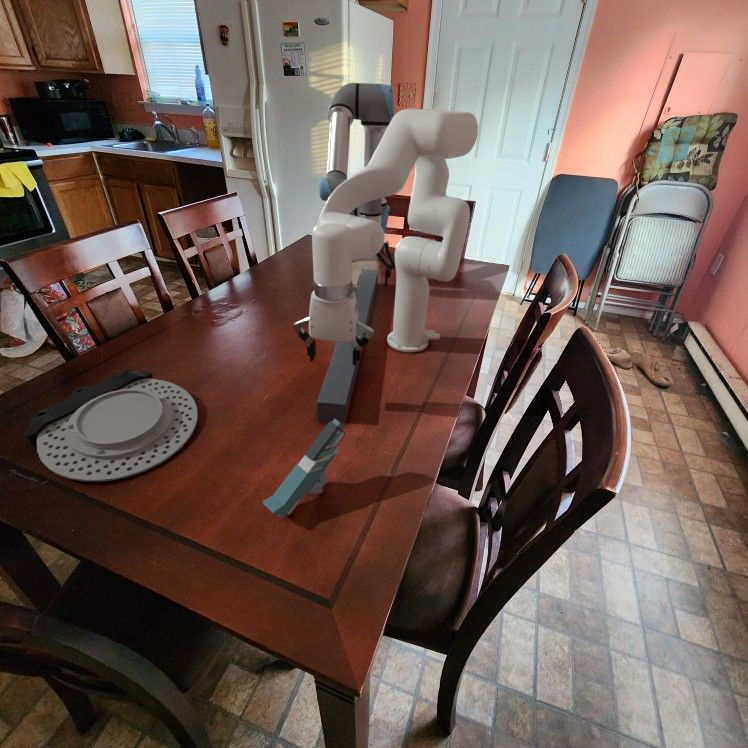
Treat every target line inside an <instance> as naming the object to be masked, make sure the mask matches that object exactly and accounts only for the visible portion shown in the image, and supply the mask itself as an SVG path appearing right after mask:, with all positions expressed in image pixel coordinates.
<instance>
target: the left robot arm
mask: <svg viewBox="0 0 748 748" xmlns="http://www.w3.org/2000/svg"><path fill="white" fill-rule="evenodd" d="M394 115H395V99H394V89H393V87H392V86H391V85H390V84H387V83H386V84H384V83H370V82H369V83H368V82H367V83H366V82H365V83H364V82H349V83H347V84H344V85H343V86H341V87H340V88H339V89H338V90H337V91H336V92H335V94H334V95H333V97H332V99H331V101H330V102H329V106H328V109H327V120H328V122H329V134H328V145H327V146H328V147H327V161H326V174H325V175H326V176H325V177H321V178H320V179H319V183H318V189H319V192H318V193H319V198H320V200H322V201H325V202H327V200H328V198H329V197H330V195H331V194H332V192H333V191H334V190H335V189H336V188H337V187H338V186H339V185H340V184H341V183H343V182H344V181H345V180H347V179H348V172H349V171H348V170H349V156H350V155H349V154H350V139H351V137H350V136H351V135H350V134H351V126H352V124H353V123H354V120H357V121H360V127H361V128H362V130H363V131H364V132H363V135H364V137H363V168H365V167H366V166H367V165H368V164H369V162H370V160H371V158H372V156H373V154H374V152H375V151H376V149H377V147H378V145H379V143H380V141H381V139H382V137H383V135H384V133H385V131H386V129H387V127H388V125H389V124H390V122H391V120H392V118H393V117H394ZM349 215H353V216H357V217H361V218H366V219H370V220H373V221H375V222H377V223H379V224H380V225H381V227H382V228H383V231H384V233H385V232H386V230H387V228H388V227H387V226H388V221H389V215H390V205H388V204H387V200H386V198H385V197H384V198H380V199H376V200H372V201H369V202H366V203H364V204H362V205H360V206H358V207H357V208H356V209H354V210H353V211H352V212H351V213H350V214H349ZM382 248H383V249H384V250H385V253H386V255H387V258H388V260H387V258H386V257H385V255H384V254H383V253H382V251H381V250H380V251H379V252H378V253H377V254H376V255H375V256H376V257H378V258H379V260H380V262H382V264H383V265H384V267H385V273H384V274H385V275H384V277H385V278H384V288H387V287H388V280H389V279H390V278H391V277H392V270H396V266H395V257H394V256H393V254H392V251H391V249H390V245H389V241H388V240H385V241H384V244H383V246H382ZM354 262H355V260H354V261H352V264H353V263H354Z"/></svg>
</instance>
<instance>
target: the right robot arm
mask: <svg viewBox="0 0 748 748" xmlns="http://www.w3.org/2000/svg"><path fill="white" fill-rule="evenodd" d="M478 135H479V124H478V121H477V118H476V116H475V115H474V114H473V113H471V112H469V111H460V110H457V111H456V110H445V109H434V108H421V109H419V108H405V109H401V110H400V111H397V113H394V117H393V118H392V120H391V122H390V124H389V125H388V127H387V129H386V131H385V133H384V135H383V137H382V139H381V141H380V143H379V145H378V147H377V149H376V151H375V152H374V154H373V156H372V158H371V160H370V162H369V164H368V165H367V166H366V167H365V168H364V167H363V168H362V169H360V170H358V171H357V172H355V173H353V174H352V175H350V176H349V177H347V180H345V181H344V182H343V183H341V184H340V185H339V186H338V187H337V188H336V189H335V190H334V191H333V192H332V194H331V195H330V197H329V198H328V200H327V201H325V204H324V206H323V208H322V210H321V211H320V215H318V219H317V222H316V225H315V227H314V228H313V229H312V232H311V247H312V250H311V251H312V270H313V291H312V292H311V295H310V301H309V308H308V309H309V310H308V311H309V313H308V316H307V317H305V318H303V319H300V320H297V321H295V322H294V324H293V325H292V327H293V329H294V331H295V332H296V333H297V336H298V337H299V339H300V340H301V341H302V342H304V345H305V346H306V355H307V356H308V357H309V362H314V361H315V358H316V356H317V345H316V340H321V341H331V342H337V341H341V342H350V343H351V344H352V345H353V347H354V348H353V365H356V363H357V360H360V361H361V359H360V349H361V348H362V347H363V348H364V346H365V345H367V344H368V343H369V341H370V340H371V338H372V337H373V335H374V333H375V330H374V328H372V327H370V326H369V325H368V326H366V325H365V324H363V323H361V322H359V321H358V310H357V301H356V296H355V293H354V292H358V290H359V285H357V284H355V283H354V282H353V263H352V261H354V262H355V261H359V260H364V259H365V260H366V259H370V258H372V257H374V256H377V255H376V254H377V253H378V252H379V251H381V250H382V248H383V244H384V242H385V239H386V237H385V232H384V231H383V228H382V227H381V225H380V224H379V223H377V222H375V221H373V220H370V219H366V218H361V217H357V216H353V215H349V214H350V213H351V212H352V211H353V210H354V209H356V208H357V207H358V206H360V205H362V204H364V203H366V202H369V201H372V200H376V199H380V198H384V199H385V198H387V197H391V196H393V195H395V194H398V193H399V192H401V191H402V190H403V188H404V187H405V185H406V183H407V181H408V178H409V176H410V174H411V172H412V170H413V168H414V177H413V184H412V190H411V195H410V201H409V206H408V211H407V223H408V227H409V228H410V229H412V230H414V231H417V232H419V233H424V234H429V235H433V236H438V237H442V241H438V240H433V239H431V238H430V239H429V238H426V237H420V236H411V235H410V236H405V237H403V238H401V239H400V240H399V241H398V242H397V244H396V246H395V249H394V261H395V266H396V268H395V277H396V279H395V297H394V309H393V325H392V331H391V332H389V333H388V334H387V336H386V342H387V344H388V346H389V347H390V348H391V349H394V350H395V351H398V352H402V353H417V352H421V351H424V350H425V349H427V347H428V346H429V341H430V340H432V341H440V339H441V334H440V333H436V331H435V330H434V329H432V330H428V329H426V324H427V323H426V322H427V315H428V308H429V298H430V284H429V280H428V279H431V280H435V281H439V282H444V283H445V282H449V281H452V280H453V279H454V277H456V275H457V272H458V270H459V266H460V263H461V259H462V255H463V250H464V247H465V243H466V240H467V239H466V238H467V234H468V231H469V226H470V221H471V220H470V219H471V209H470V205H469V204H468V202H467V201H465V200H464V199H462V198H459V197H453V196H448V195H447V188H448V184H449V179H450V170H449V166H448V163H447V160H449V159H455V158H460V157H464V156H467V155H468V154H469V153H470V152H471V151H472V149H474V147H475V145H476V142H477V139H478ZM307 326H308V332H307V331H306V330H305V329H304V328H305V327H307ZM358 330H360V331H362V332H363V333H365V336H363V337H362V338H361V339H360V338H359V337H358V335H357V334H356V333H357V332H358Z"/></svg>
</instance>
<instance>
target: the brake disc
mask: <svg viewBox="0 0 748 748" xmlns="http://www.w3.org/2000/svg"><path fill="white" fill-rule="evenodd" d="M198 418H199V413H198V407H197V404H196V402H195V399H194V398H193V396H192V395H191V394H190V393H189V392H188V391H187V390H186V389H184V388H183V387H181V386H179V385H177V384H176V383H172V382H170V381H167V380H162V379H157V378H154V377H153V372H152V371H151V370H143V371H139V370H135V369H126V370H124V371H121V372H119V373H117V374H113V375H111V376H109V377H108V378H106V379H104V380H103V381H100V382H97V383H95V384H92V385H90V386H82V387H77V388H75V389H74V390H73V391H72V392H71V394H70V395H69V396H68V397H67V398H65V399H63V400H61V401H59V402H57V403H54V404H51V405H49V406H47V407H45V408H43V409H41V410H39V411H38V412H36V413H34V414H33V415H32V416H31V417H30V418H29V420H28V421H27V425H28V427H29V428H27V429H26V430H25V431H24V432H23V434H24V436H25V438H26V440H27V441H28V443H29V445H30V446H31V447H36V452H37V454H38V457H39V459H40V462H42V464H43V465H44V466H45V467H46V468H47V469H48V470H50V471H51V472H53V473H54V474H55V475H58V476H60V477H63V478H65V479H68V480H72V481H78V482H91V483H93V482H94V483H96V482H99V483H101V482H108V481H109V482H110V481H117V480H121V479H125V478H129V477H132V476H135V475H139V474H142V473H144V472H146V471H148V470H150V469H152V468H155V467H157V466H159V465H161V464H163V463H164V462H166V461H167V460H168V459H170V458H171V457H172V456H174V455H175V454H176V453H178V452H179V451H180V450H181V449H182V448H183V447H184V446H185V445H186V444H187V442H188V441H189V440H190V439H191V437H192V435H193V434H194V431H195V430H196V427H197V424H198V421H199V420H198Z"/></svg>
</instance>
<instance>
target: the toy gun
mask: <svg viewBox="0 0 748 748" xmlns="http://www.w3.org/2000/svg"><path fill="white" fill-rule="evenodd" d="M344 429H345V427H344V423H340V422H339V421H337V420H336V419H334V420H333V421H332V422H331V421H330V422H328V423H327V424H326V425H325V427H324V428H323V430H322V431H321V432H320V434H319V435H318V436H317V437H316V438H315V440H314V442H313V443H312V444H311V445H310V447H309V448H308V449H307V451H306V452H305V453H304V455H303V457H302V458H301V459H300V460H299V462H298V463H297V464H295V465H294V467H293V468H292V469H291V470H290V472H289V473H288V475H287V476H286V477H285V479H284V480H283V481H282V483H281V484H280V485H279V487H278V488H277V490H275V492H274V493H273V495H271V496H269V497H267V498H265V499H264V500H263V501H262V504H263V505H264V506H265V507H266V508H267V509H268V511H270V513H272V514H274V515H277V516H278V518H280V519H283V520H284V519H285V518H286V517H287V516H290V515H291V513H292V512H293V511H294V510H295V508H296V507H297V505H298V504H299V503H300V501H301V500H302V498H304V497H305V496H307V495H308V494H309V495H311V496H316V495H321V494H323V492H324V489H323V488H324V486H325V485H326V483H328V480H329V479H328V475H327V468H328V466H329V465H330V464H331V463H332V462H333V460H334V459H335V458H336V457H337V455H338V453H339V448H338V446H339V444H340V443H341V442H342V440H343V439H344V437H345V436H346V432H345V431H344Z"/></svg>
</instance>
